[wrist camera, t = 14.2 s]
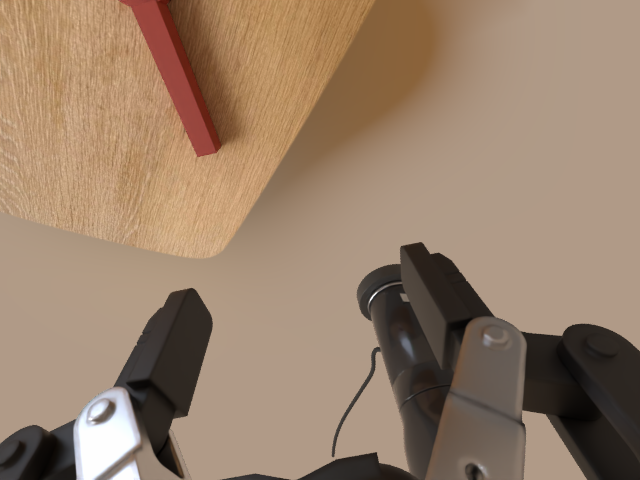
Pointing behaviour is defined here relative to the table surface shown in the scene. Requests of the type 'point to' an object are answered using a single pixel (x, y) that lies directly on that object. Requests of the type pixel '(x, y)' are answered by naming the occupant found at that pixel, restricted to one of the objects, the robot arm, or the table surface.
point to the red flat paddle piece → (176, 72)
